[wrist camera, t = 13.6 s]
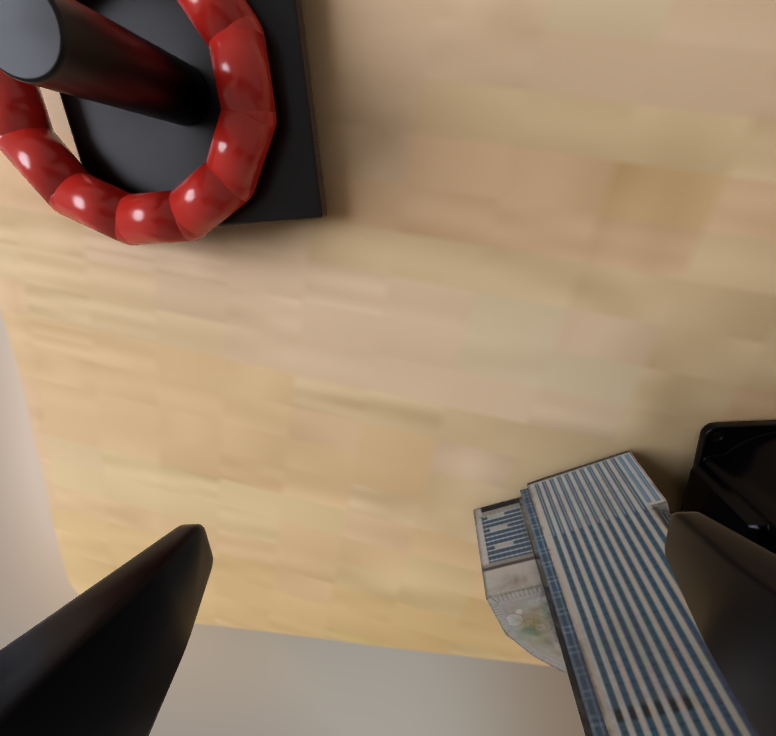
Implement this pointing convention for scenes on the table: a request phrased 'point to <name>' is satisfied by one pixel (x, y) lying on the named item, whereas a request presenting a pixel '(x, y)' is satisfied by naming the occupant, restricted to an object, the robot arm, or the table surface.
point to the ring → (199, 190)
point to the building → (605, 602)
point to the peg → (164, 94)
